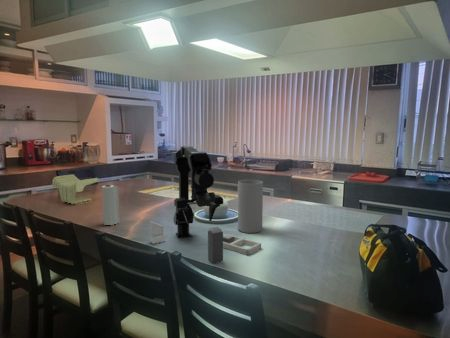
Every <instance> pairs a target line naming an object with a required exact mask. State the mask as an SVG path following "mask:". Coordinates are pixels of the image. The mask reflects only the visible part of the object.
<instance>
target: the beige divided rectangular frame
mask: <svg viewBox="0 0 450 338" xmlns="http://www.w3.org/2000/svg"><path fill="white" fill-rule="evenodd" d="M243 245H245V246H249V247H248V248H245V247H242V246H243ZM223 249H227V250H229V251H232V250H233V251H232V252H236V253H239V254H242V253H243V254H242V255H245V254H246V255H245V256H249V254H250V255H251V254H254V253H255V252H257V251H259V250H260V249H262V243H261V242H257V241H254V240H251V239H246V238H243V237H239V236H235V235H232V234H228V233H224V234H223Z"/></svg>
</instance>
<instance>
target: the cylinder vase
mask: <svg viewBox="0 0 450 338" xmlns="http://www.w3.org/2000/svg"><path fill="white" fill-rule="evenodd" d="M263 193H264V182H263V181H262V180H259V179H240V180H238V181H237V229H238V231H239V232H242V233H244V234H257V233H260V232H261V231H262V230H263V210H264V209H263V205H264V204H263V203H264V202H263V200H264V199H263V198H264V194H263Z"/></svg>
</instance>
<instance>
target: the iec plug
mask: <svg viewBox="0 0 450 338" xmlns="http://www.w3.org/2000/svg"><path fill="white" fill-rule="evenodd" d="M223 235H224V233H223V230H222V228H220V227H219V226H216V227H210V228H208V230H207V261H208V262H210V263H211V264H212V265H214V264H219V263H222V262H221V261H223V262H224V248H223ZM218 262H219V263H218Z"/></svg>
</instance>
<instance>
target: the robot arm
mask: <svg viewBox="0 0 450 338" xmlns="http://www.w3.org/2000/svg"><path fill="white" fill-rule="evenodd" d="M173 163H174V165H175V166H174V167H175V169H176V170H177V172H178V196H179V197H176V198H175V199H174V205H173V206H175V213H174V215H173V224H174V225H176V227H177V232H175V235H176V236H177V238H179V239H180V238H186V237H192V234H191V233H190V224H193V223H194V216H195V213H194V212H193V208H192V207H191V205H197V206H198V207H199V208H202V207H208V220H209V221H208V222H212V221H213V220H212V219H213V216H214V215H215V212H216V209H217V208H219V207H221V205H224V197H222V196H221V195H219V194H215V192H213V191H212V192H209V191H208V189H210V188H211V187H212V186H213V185H214V181H215V179H214V176H213V175H212V174H211V173H210V172H209V171H212V166H213V165H212V161H211V159H210V156H209V154H208V152H206V151H198V150H196V149H195V148H194V146H192V145H183V146H180V149H178V151H176V152H175V153H174V157H173ZM189 174H190V176H189ZM189 178H190V180H191V181H190V180H189ZM189 181H190V182H191V184H190V188H191V195H190V197H189V194H190V190H189V189H190V188H189V183H190V182H189ZM189 198H191V199H189Z"/></svg>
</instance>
